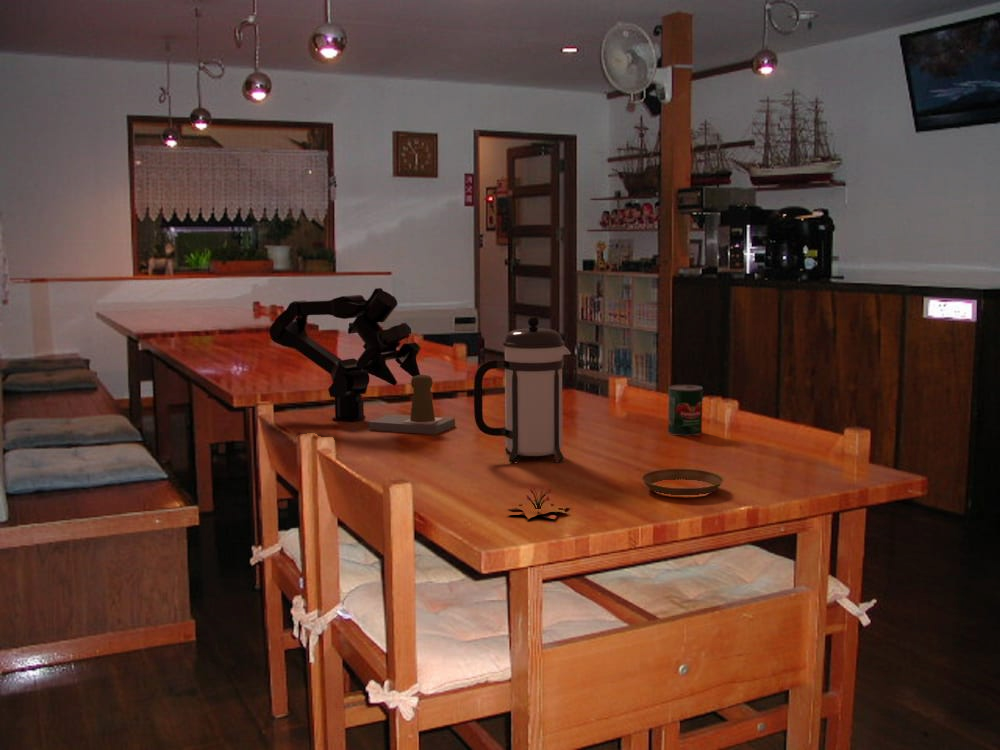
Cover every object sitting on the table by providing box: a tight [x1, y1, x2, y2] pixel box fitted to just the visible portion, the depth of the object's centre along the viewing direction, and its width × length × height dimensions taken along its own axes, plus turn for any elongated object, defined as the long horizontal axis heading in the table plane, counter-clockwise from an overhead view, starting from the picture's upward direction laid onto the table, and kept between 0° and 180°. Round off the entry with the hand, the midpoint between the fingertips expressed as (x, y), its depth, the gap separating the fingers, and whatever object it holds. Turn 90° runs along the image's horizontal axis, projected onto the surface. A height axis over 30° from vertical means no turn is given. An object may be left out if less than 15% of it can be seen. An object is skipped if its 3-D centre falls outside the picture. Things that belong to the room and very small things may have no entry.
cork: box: [410, 374, 436, 422], centre depth 245 cm, size 6×6×11 cm
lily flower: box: [514, 486, 566, 514], centre depth 172 cm, size 12×12×5 cm
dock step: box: [368, 413, 456, 436], centre depth 247 cm, size 18×11×2 cm, turn 68°
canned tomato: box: [667, 384, 704, 437], centre depth 238 cm, size 8×8×11 cm
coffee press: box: [473, 316, 571, 464], centre depth 212 cm, size 17×16×30 cm
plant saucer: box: [641, 468, 724, 495], centre depth 186 cm, size 15×15×3 cm
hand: (408, 381), depth 247 cm, fingers open, 9 cm apart
